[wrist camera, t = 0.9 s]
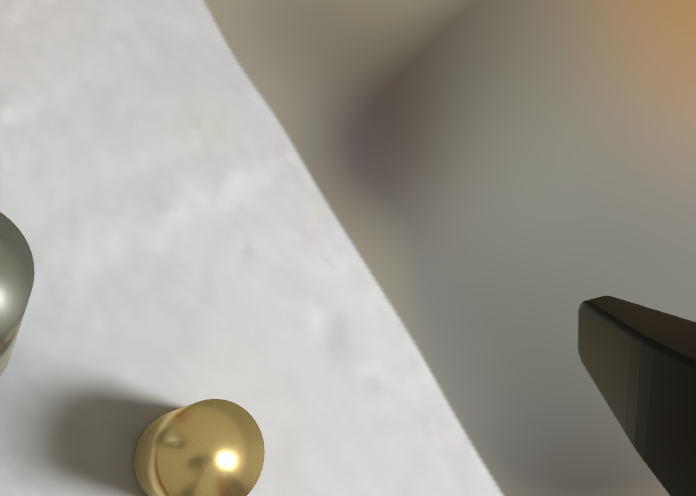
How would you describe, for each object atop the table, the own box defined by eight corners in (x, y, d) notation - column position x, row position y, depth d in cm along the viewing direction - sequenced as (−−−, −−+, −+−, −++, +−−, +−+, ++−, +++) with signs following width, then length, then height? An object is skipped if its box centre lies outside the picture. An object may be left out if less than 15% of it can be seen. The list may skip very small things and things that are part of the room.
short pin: (202, 522, 25) (237, 528, 21) (115, 484, 24) (139, 484, 20) (241, 433, 26) (280, 426, 23) (162, 393, 25) (191, 380, 22)
